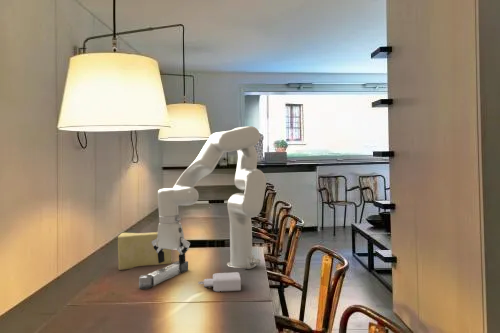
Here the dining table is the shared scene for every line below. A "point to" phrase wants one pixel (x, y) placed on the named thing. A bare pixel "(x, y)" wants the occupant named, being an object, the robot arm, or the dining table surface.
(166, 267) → the tongs leg
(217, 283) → the charger
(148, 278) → the tongs hinge pin
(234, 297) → the dining table surface
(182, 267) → the tongs leg
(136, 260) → the cheese
